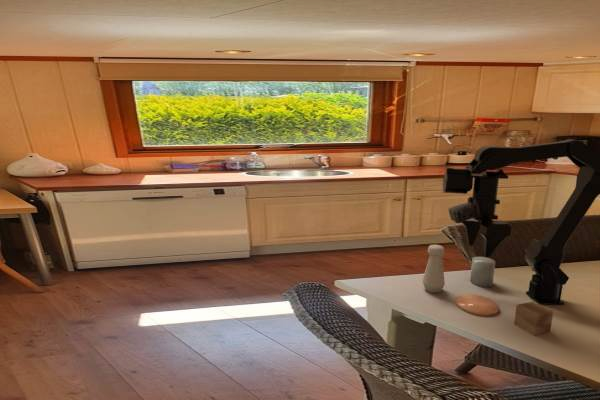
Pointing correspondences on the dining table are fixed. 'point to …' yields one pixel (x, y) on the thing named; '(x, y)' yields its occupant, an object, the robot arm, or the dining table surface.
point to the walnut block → (533, 318)
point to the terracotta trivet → (477, 304)
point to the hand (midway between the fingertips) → (478, 251)
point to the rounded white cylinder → (482, 271)
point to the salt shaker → (434, 270)
